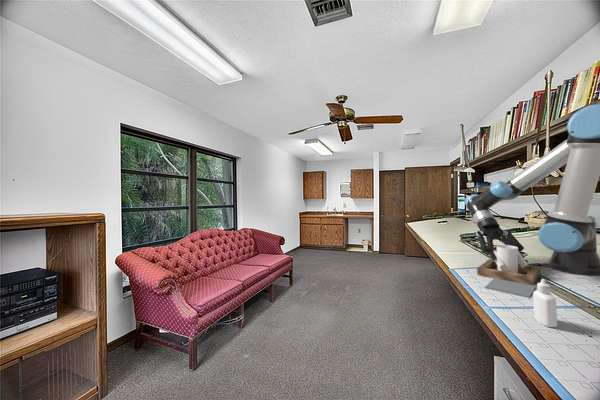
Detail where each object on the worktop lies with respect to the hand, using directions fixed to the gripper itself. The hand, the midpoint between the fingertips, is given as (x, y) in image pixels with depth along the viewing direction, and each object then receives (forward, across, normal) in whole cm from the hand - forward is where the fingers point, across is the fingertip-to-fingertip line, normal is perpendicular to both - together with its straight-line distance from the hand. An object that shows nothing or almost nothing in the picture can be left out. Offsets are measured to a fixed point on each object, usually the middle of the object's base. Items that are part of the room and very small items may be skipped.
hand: (513, 266), depth 95 cm
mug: (+1, 0, -6) cm, 6 cm away
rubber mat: (+10, +8, +4) cm, 14 cm away
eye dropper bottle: (+27, +15, +20) cm, 37 cm away
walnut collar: (+1, 0, -6) cm, 6 cm away
